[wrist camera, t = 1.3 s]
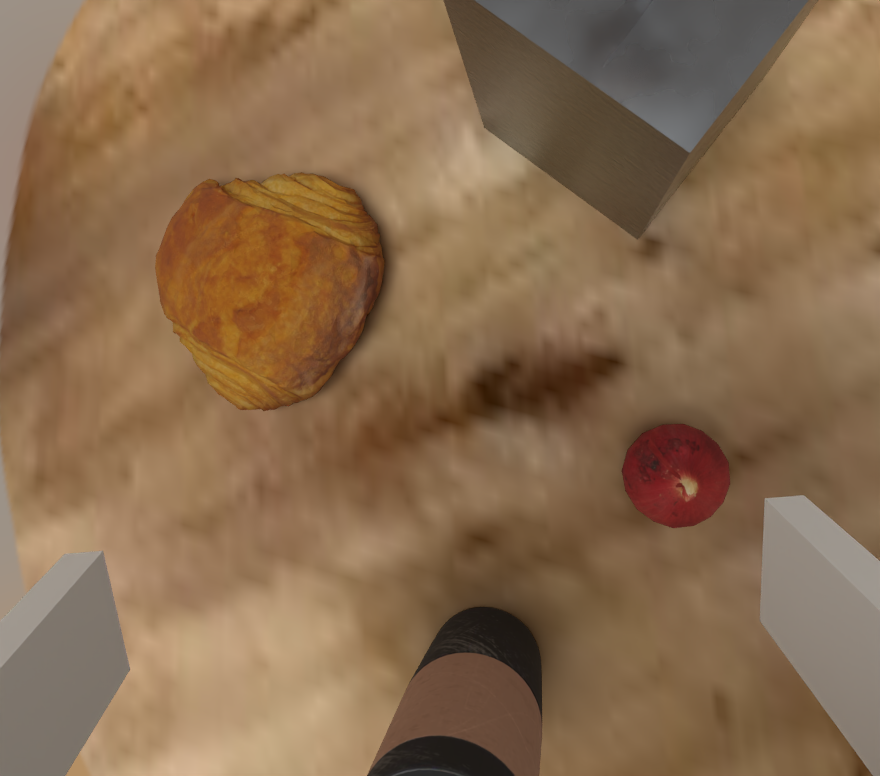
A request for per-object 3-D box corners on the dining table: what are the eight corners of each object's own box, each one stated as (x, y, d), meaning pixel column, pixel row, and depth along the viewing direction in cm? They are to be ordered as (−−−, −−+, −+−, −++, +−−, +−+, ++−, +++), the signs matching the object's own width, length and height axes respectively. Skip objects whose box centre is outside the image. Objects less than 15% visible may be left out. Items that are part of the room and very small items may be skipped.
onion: (598, 471, 47) (606, 492, 39) (658, 400, 46) (678, 407, 38) (673, 531, 46) (696, 565, 39) (735, 460, 46) (771, 480, 38)
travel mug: (411, 690, 49) (312, 906, 30) (450, 584, 49) (375, 732, 29) (521, 737, 48) (494, 993, 29) (562, 629, 48) (563, 814, 28)
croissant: (432, 256, 51) (422, 221, 43) (299, 446, 50) (265, 446, 42) (261, 141, 52) (221, 87, 44) (130, 325, 52) (66, 304, 44)
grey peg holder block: (764, 76, 45) (911, -133, 26) (637, 239, 46) (689, 153, 28) (603, -35, 46) (632, -309, 27) (484, 127, 48) (434, -28, 29)
